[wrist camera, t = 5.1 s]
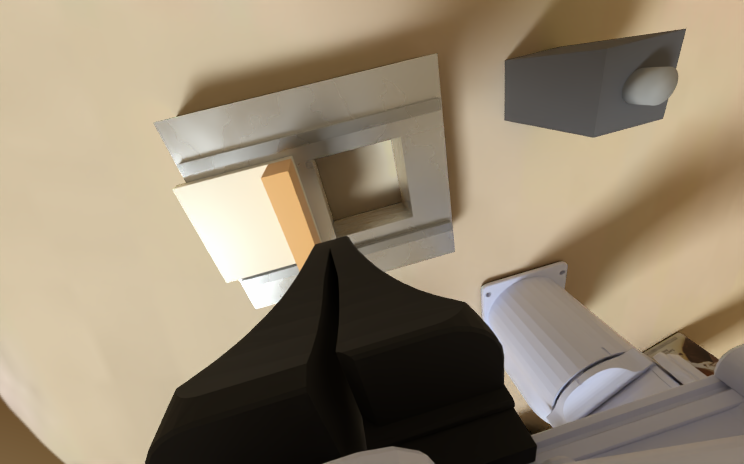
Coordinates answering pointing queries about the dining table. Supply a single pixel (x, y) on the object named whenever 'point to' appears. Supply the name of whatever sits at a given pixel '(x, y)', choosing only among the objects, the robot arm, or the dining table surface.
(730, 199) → the dining table surface
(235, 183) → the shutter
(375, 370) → the robot arm
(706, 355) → the coffee box
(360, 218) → the socket
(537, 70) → the plug
